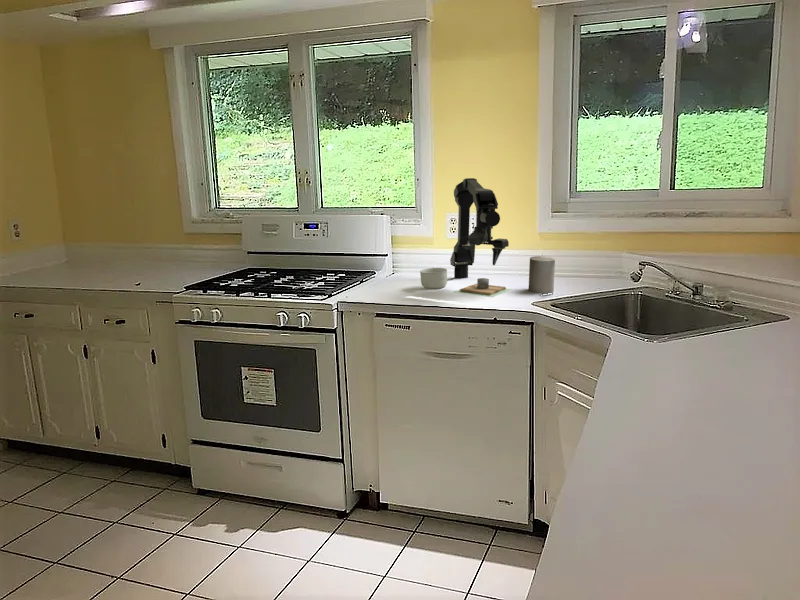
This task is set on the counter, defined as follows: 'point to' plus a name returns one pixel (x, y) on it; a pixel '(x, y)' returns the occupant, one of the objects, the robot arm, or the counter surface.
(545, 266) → the pillar candle
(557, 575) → the counter surface
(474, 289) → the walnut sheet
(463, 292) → the sage mat
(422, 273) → the teacup
